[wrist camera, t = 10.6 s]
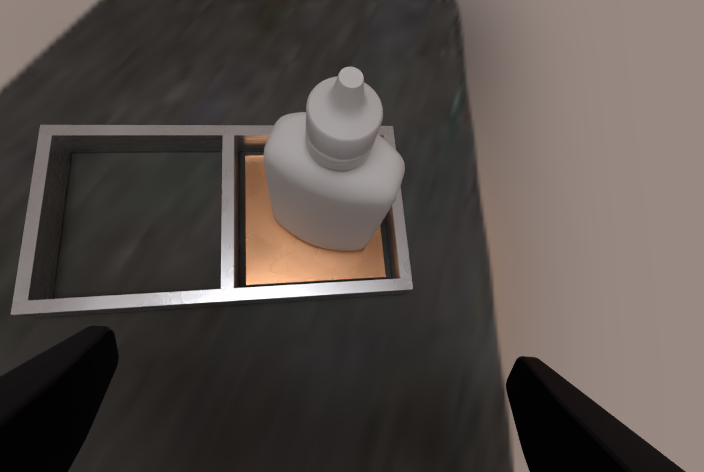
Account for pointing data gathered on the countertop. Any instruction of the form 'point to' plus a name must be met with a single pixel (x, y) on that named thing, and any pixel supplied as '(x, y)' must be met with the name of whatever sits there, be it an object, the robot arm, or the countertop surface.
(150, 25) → the countertop surface
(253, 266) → the tray
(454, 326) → the countertop surface
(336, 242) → the eye dropper bottle
